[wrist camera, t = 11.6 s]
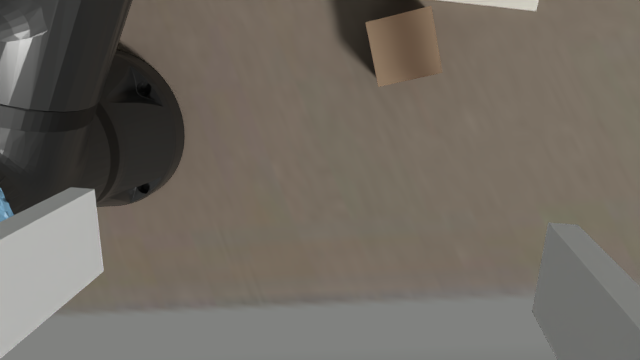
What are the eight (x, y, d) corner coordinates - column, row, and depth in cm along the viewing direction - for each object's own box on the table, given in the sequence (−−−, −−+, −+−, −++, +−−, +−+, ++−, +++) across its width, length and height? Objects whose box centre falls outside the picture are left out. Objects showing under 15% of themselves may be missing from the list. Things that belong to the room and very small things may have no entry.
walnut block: (380, 81, 43) (378, 86, 38) (369, 24, 42) (365, 22, 37) (437, 68, 42) (442, 72, 37) (427, 9, 41) (431, 5, 36)
